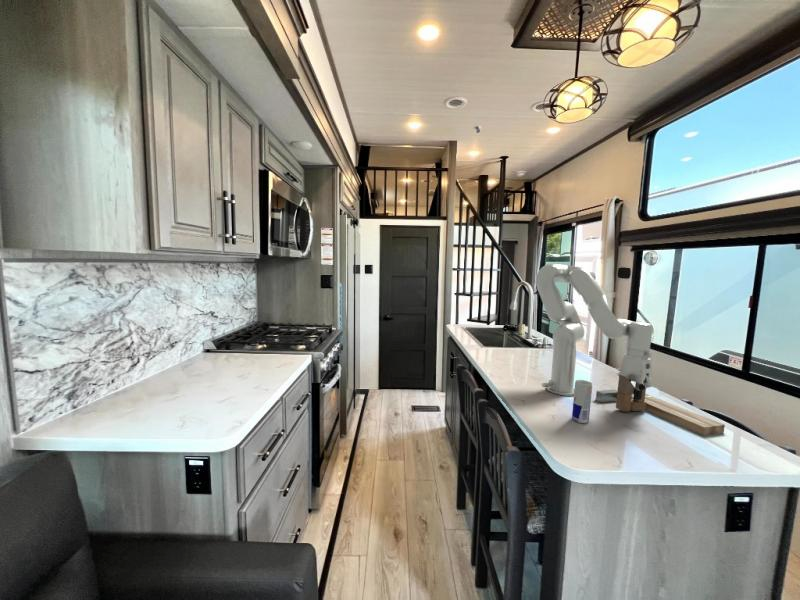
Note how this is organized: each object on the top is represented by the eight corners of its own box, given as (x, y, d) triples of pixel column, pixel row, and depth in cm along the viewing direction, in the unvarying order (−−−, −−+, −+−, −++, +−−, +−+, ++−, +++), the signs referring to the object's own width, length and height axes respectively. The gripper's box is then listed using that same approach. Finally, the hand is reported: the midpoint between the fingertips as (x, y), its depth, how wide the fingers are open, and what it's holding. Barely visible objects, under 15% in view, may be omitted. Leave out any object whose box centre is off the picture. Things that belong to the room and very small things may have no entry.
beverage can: (587, 418, 124) (590, 380, 123) (590, 425, 119) (594, 385, 117) (570, 416, 126) (574, 378, 124) (573, 422, 121) (576, 383, 119)
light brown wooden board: (703, 435, 114) (704, 427, 114) (624, 400, 143) (625, 394, 143) (723, 432, 117) (724, 424, 116) (642, 399, 145) (643, 392, 145)
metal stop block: (601, 402, 140) (602, 393, 140) (595, 399, 143) (596, 390, 143) (620, 400, 143) (620, 391, 142) (613, 398, 146) (614, 389, 145)
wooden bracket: (615, 407, 133) (620, 365, 131) (637, 406, 135) (643, 364, 133) (622, 411, 130) (627, 368, 128) (645, 410, 132) (651, 367, 130)
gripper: (666, 358, 123) (659, 405, 125) (625, 347, 139) (620, 388, 141) (650, 359, 121) (644, 406, 123) (611, 347, 137) (606, 389, 139)
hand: (631, 396), depth 132 cm, fingers closed on wooden bracket, 3 cm apart
